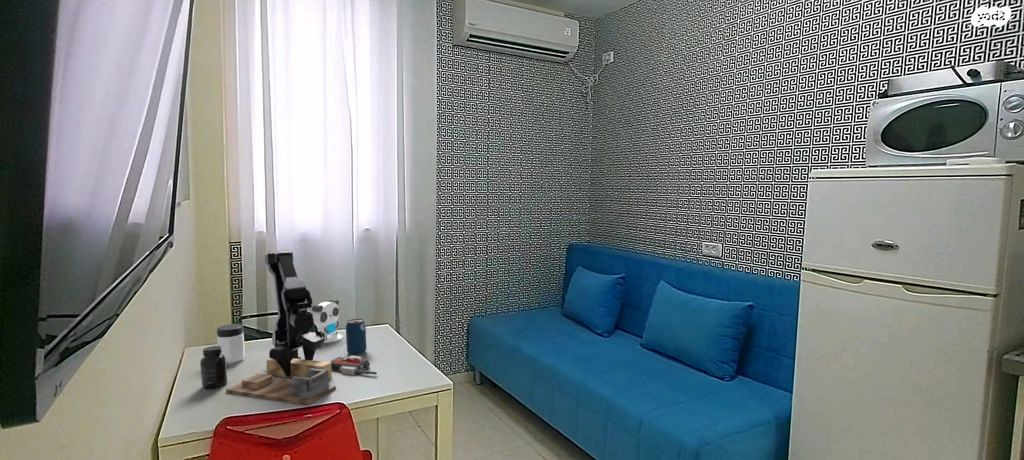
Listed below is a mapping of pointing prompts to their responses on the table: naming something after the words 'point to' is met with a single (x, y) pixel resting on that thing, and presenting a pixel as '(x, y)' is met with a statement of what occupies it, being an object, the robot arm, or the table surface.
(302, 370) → the oak rail
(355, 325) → the soda can
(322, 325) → the panda figurine
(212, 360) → the supplement bottle
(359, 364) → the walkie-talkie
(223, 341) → the jar
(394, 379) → the table surface
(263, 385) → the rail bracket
